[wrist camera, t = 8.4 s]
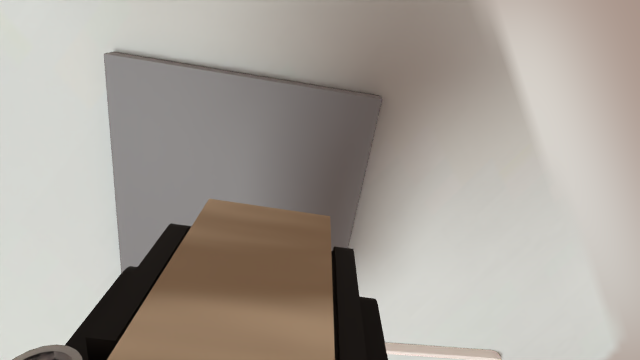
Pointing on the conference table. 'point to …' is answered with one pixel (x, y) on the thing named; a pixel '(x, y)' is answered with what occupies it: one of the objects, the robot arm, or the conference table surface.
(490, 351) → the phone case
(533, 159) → the conference table surface
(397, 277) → the conference table surface
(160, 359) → the stepped wooden block
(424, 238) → the conference table surface
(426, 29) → the conference table surface
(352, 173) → the slate board
